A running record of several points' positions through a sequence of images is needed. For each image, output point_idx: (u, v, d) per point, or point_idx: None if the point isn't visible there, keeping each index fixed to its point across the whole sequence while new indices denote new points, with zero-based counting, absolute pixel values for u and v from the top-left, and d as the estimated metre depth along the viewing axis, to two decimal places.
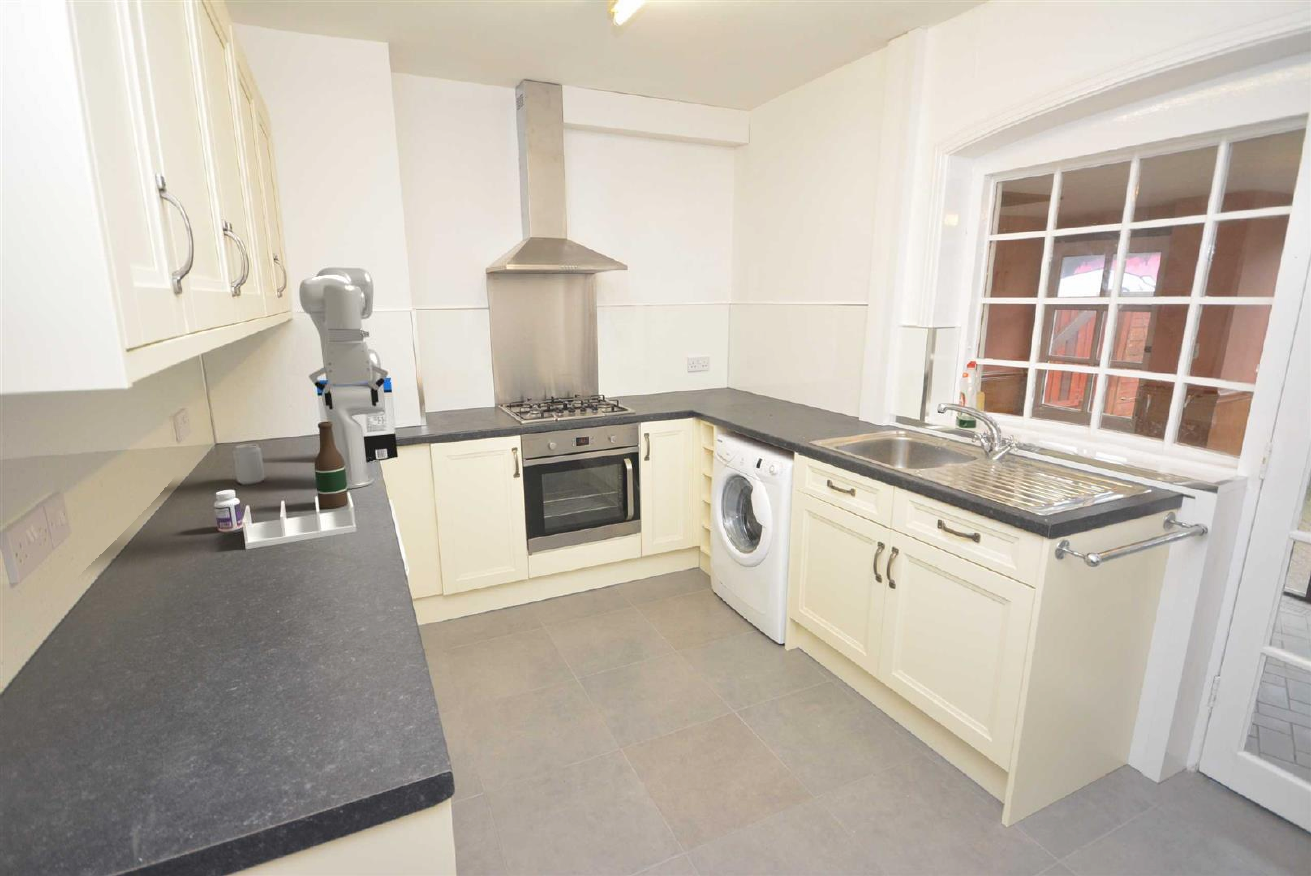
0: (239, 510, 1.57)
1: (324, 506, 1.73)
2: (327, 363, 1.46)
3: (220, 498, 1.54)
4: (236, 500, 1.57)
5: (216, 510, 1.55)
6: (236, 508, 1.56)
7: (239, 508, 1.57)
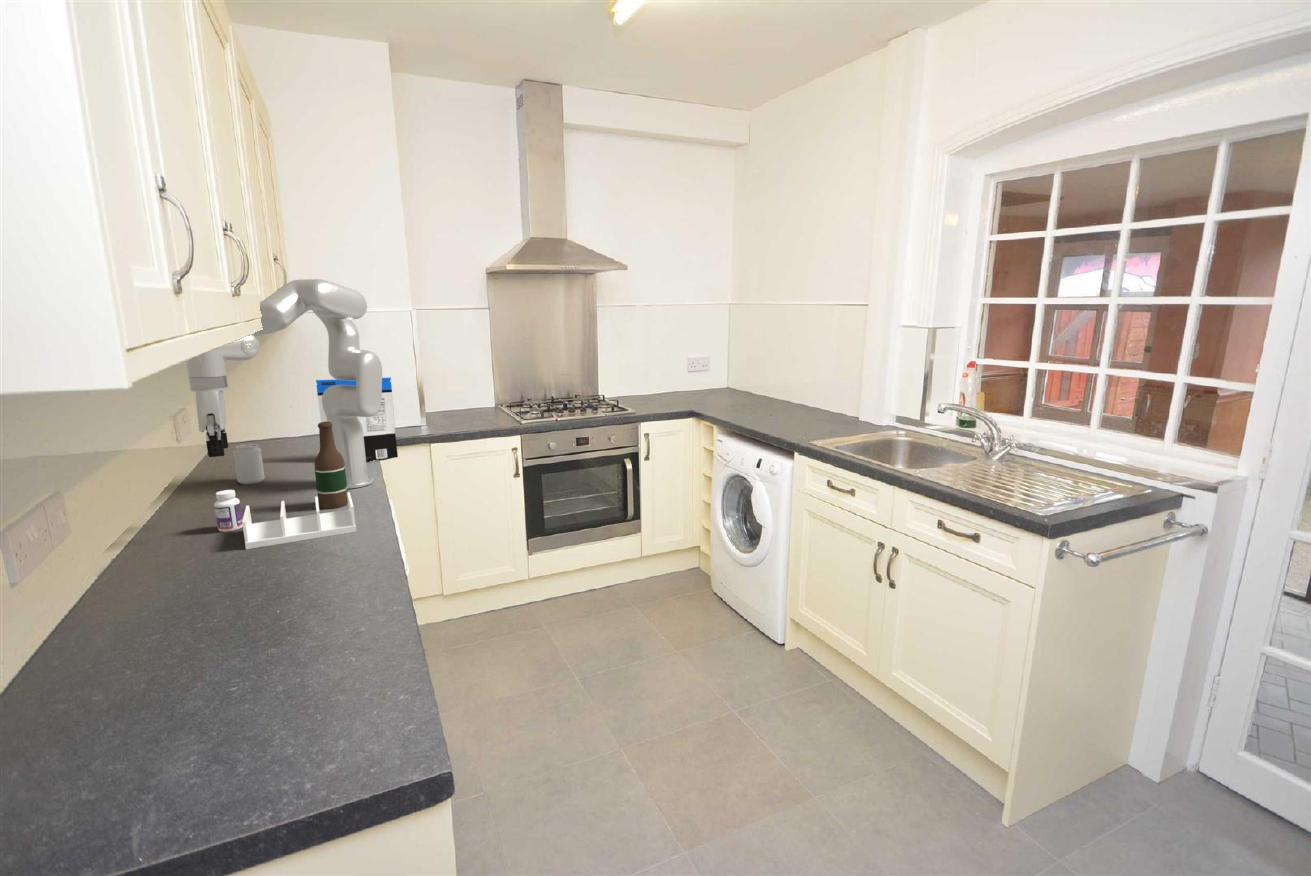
0: (239, 510, 1.57)
1: (324, 506, 1.73)
2: (220, 410, 1.49)
3: (220, 498, 1.54)
4: (236, 500, 1.57)
5: (216, 510, 1.55)
6: (236, 508, 1.56)
7: (239, 508, 1.57)
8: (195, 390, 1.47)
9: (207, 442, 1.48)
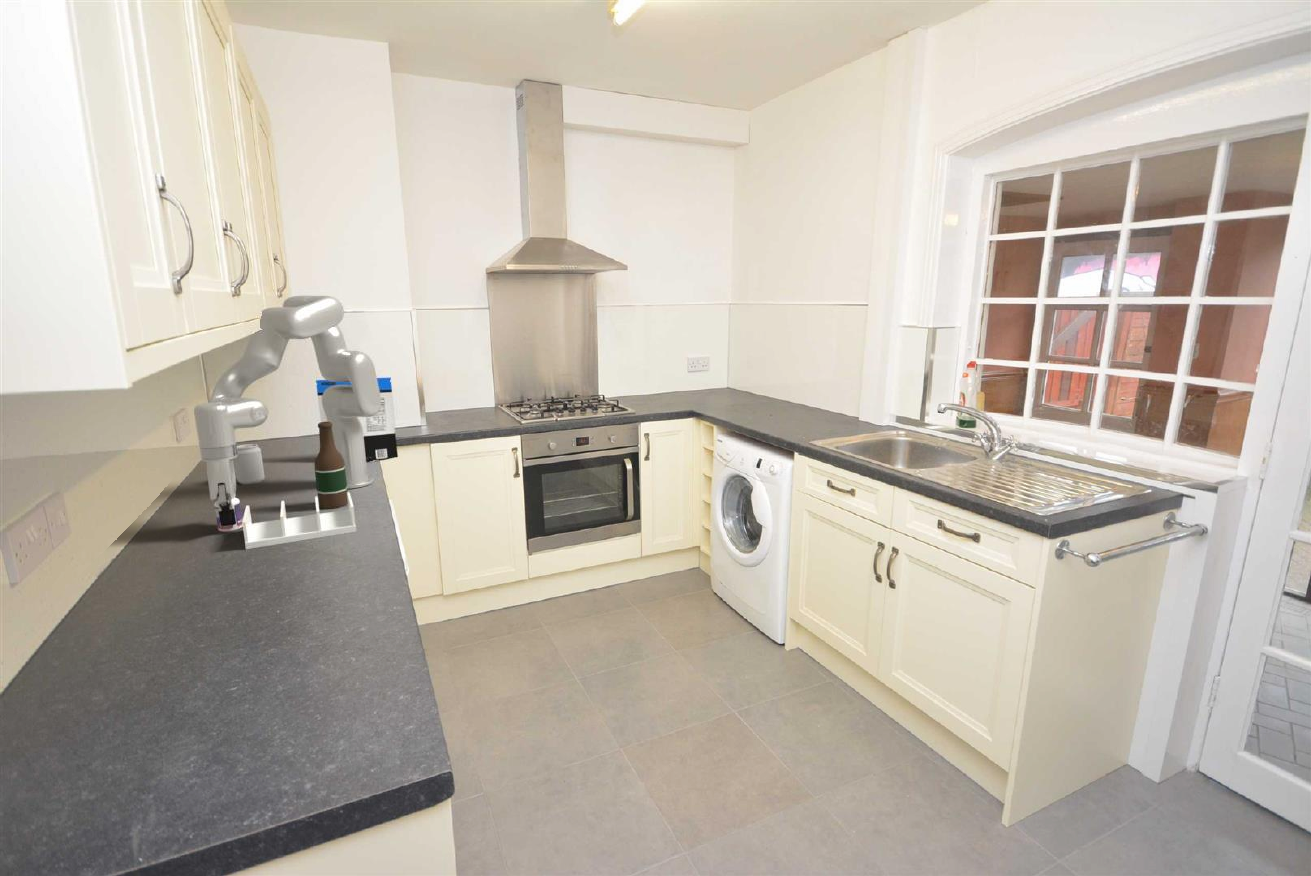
0: (239, 510, 1.57)
1: (324, 506, 1.73)
2: (230, 479, 1.52)
3: None
4: (236, 500, 1.57)
5: (216, 510, 1.55)
6: (236, 508, 1.56)
7: (239, 508, 1.57)
8: (206, 460, 1.51)
9: (219, 512, 1.53)
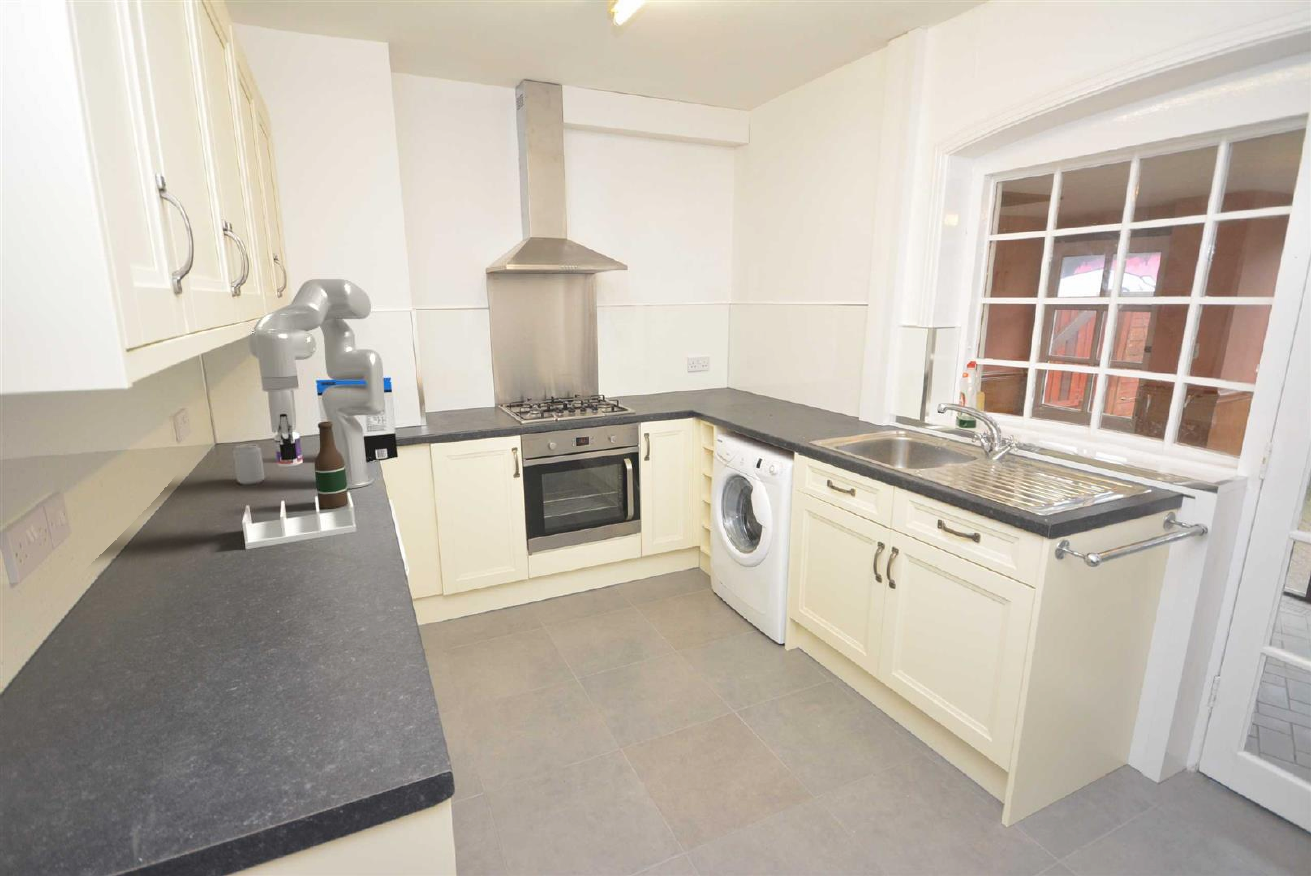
0: (299, 445, 1.52)
1: (324, 506, 1.73)
2: (292, 410, 1.47)
3: None
4: (296, 434, 1.52)
5: (276, 444, 1.49)
6: (296, 443, 1.51)
7: (299, 443, 1.52)
8: (268, 390, 1.45)
9: (280, 445, 1.48)
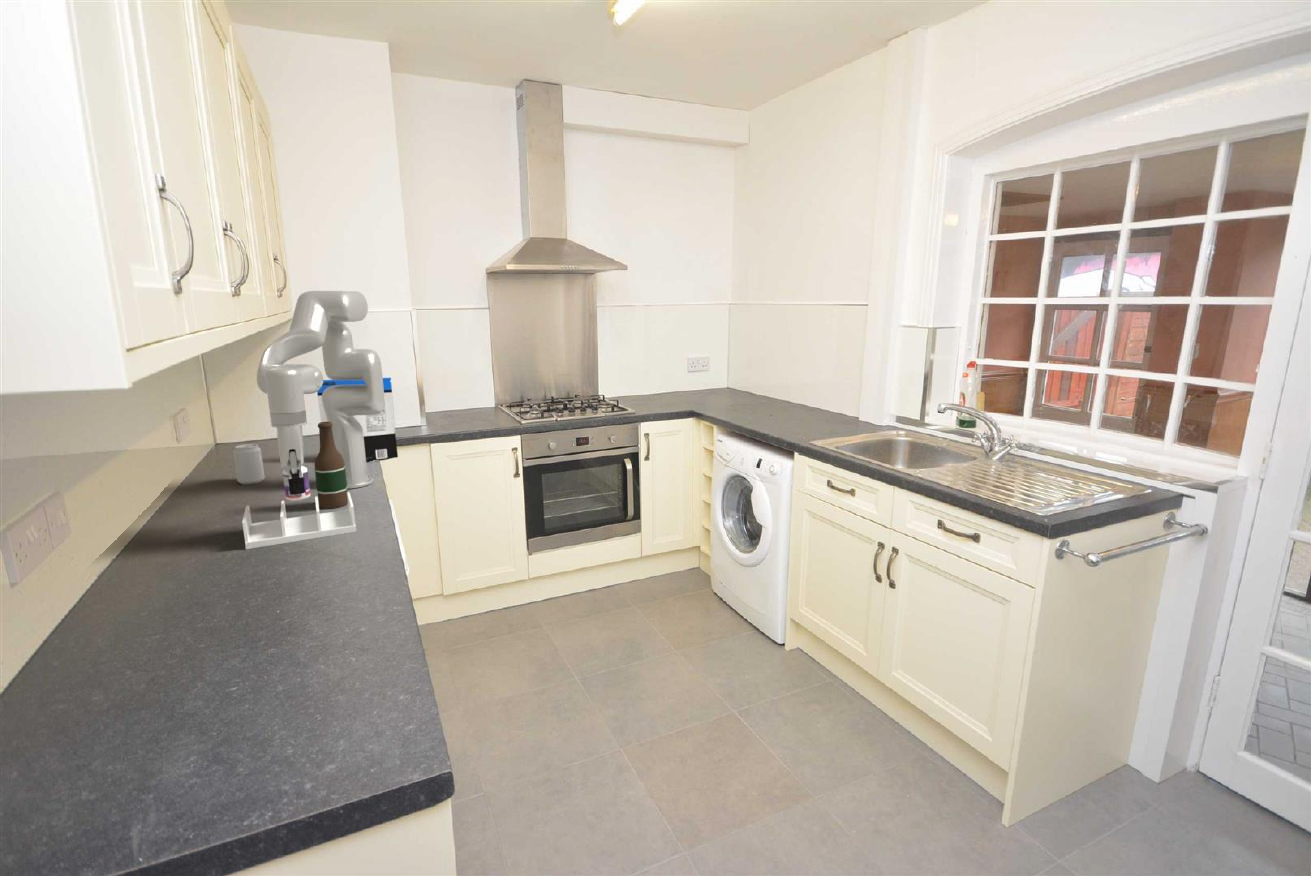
0: (307, 479, 1.54)
1: (324, 506, 1.73)
2: (301, 445, 1.49)
3: None
4: (304, 468, 1.53)
5: (285, 478, 1.51)
6: (304, 477, 1.53)
7: (307, 477, 1.54)
8: (277, 426, 1.47)
9: (289, 480, 1.50)
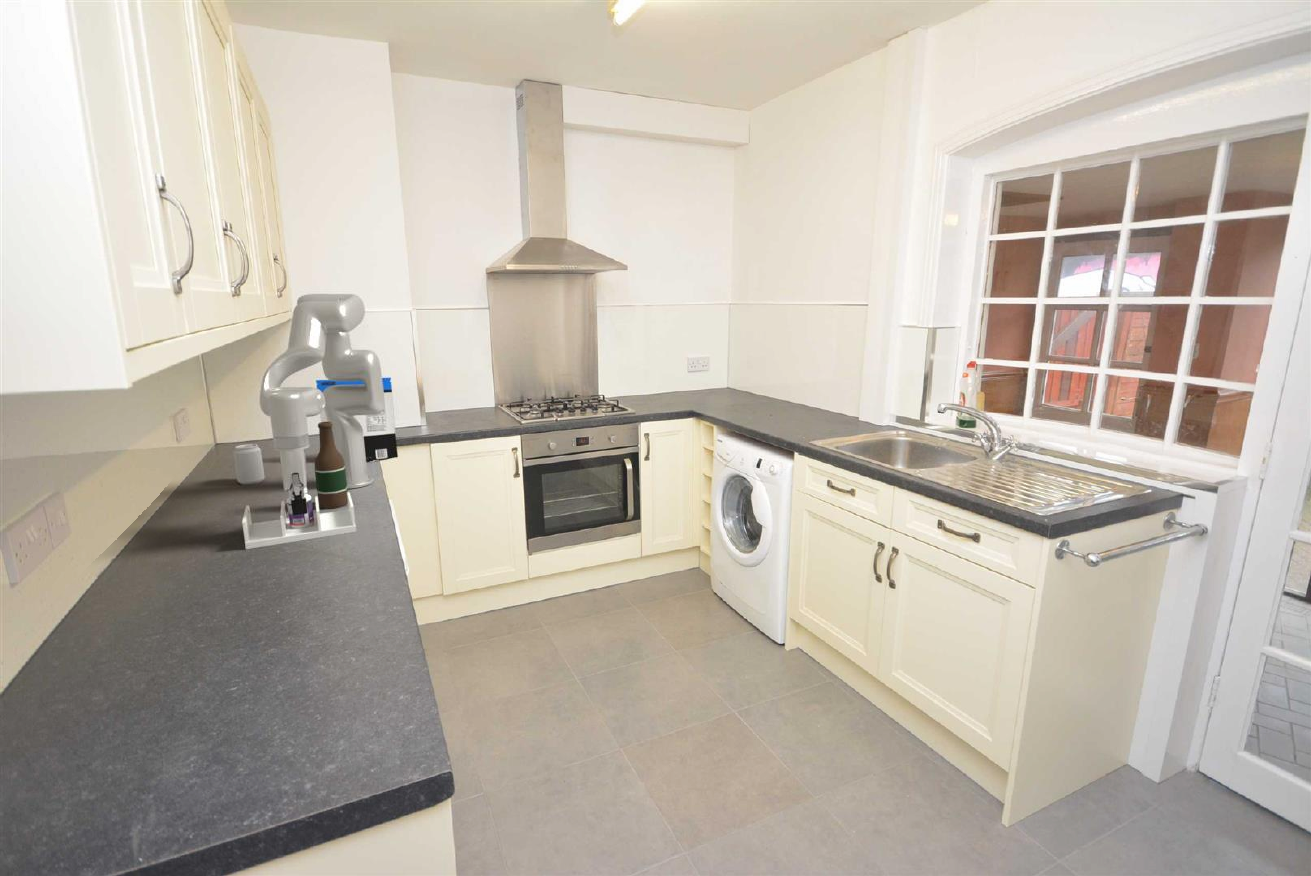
0: (311, 506, 1.55)
1: (324, 506, 1.73)
2: (303, 469, 1.50)
3: None
4: (308, 496, 1.55)
5: (289, 506, 1.53)
6: (308, 505, 1.54)
7: (311, 504, 1.55)
8: (280, 450, 1.48)
9: (292, 501, 1.49)
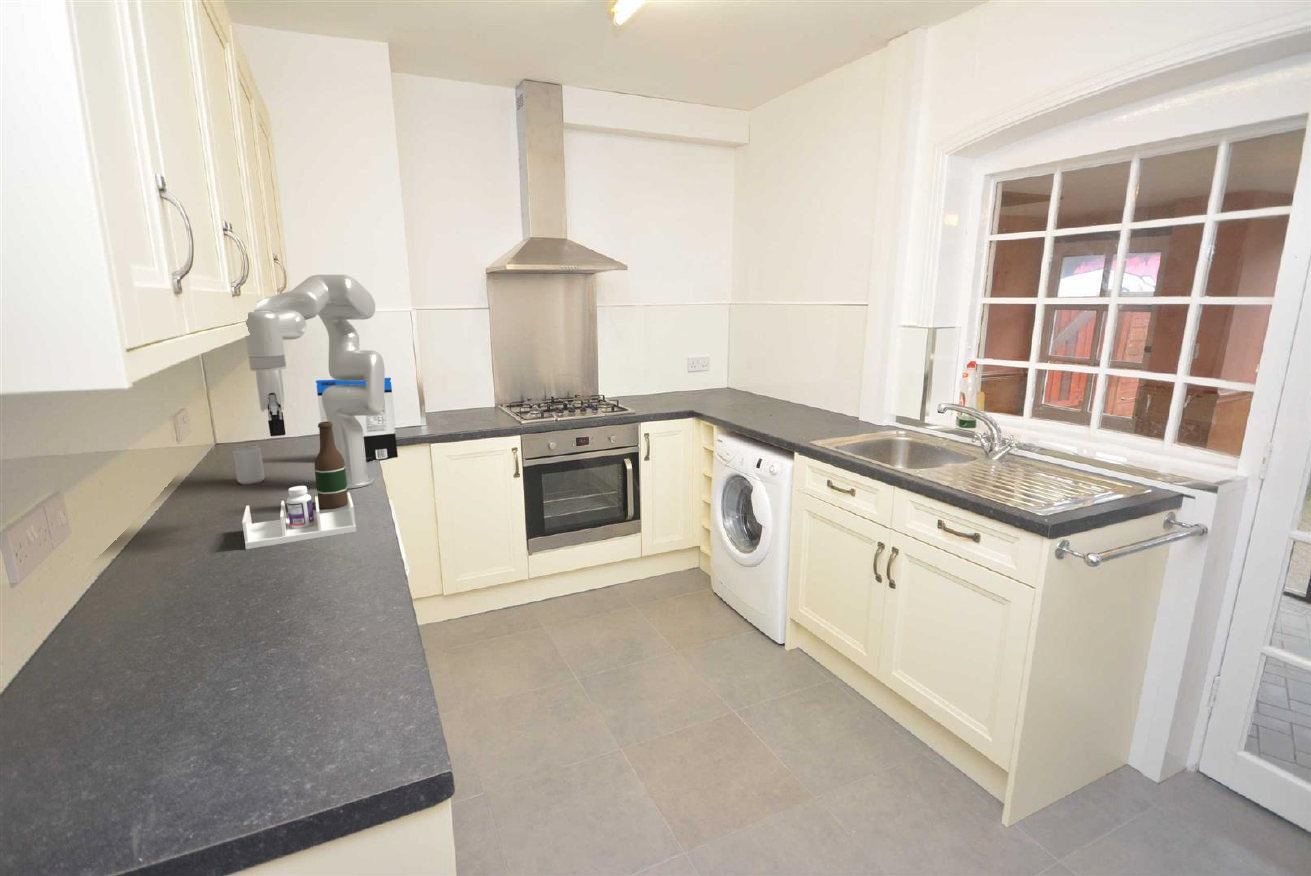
0: (311, 506, 1.55)
1: (324, 506, 1.73)
2: (280, 389, 1.49)
3: (293, 494, 1.52)
4: (308, 496, 1.55)
5: (289, 506, 1.53)
6: (308, 505, 1.54)
7: (311, 504, 1.55)
8: (256, 369, 1.47)
9: (269, 421, 1.49)
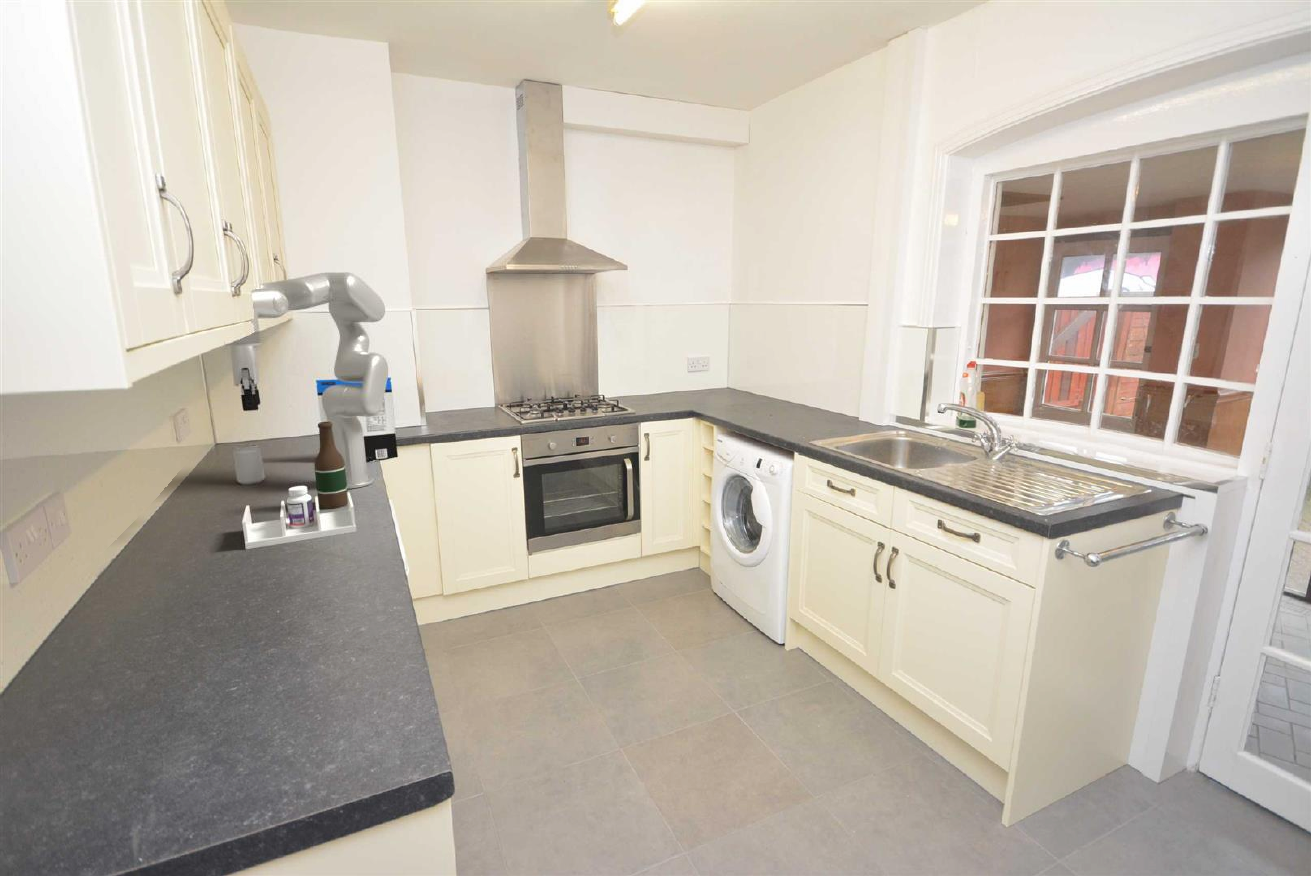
0: (311, 506, 1.55)
1: (324, 506, 1.73)
2: (254, 365, 1.52)
3: (293, 494, 1.52)
4: (308, 496, 1.55)
5: (289, 506, 1.53)
6: (308, 505, 1.54)
7: (311, 504, 1.56)
8: (230, 345, 1.50)
9: (242, 396, 1.51)
